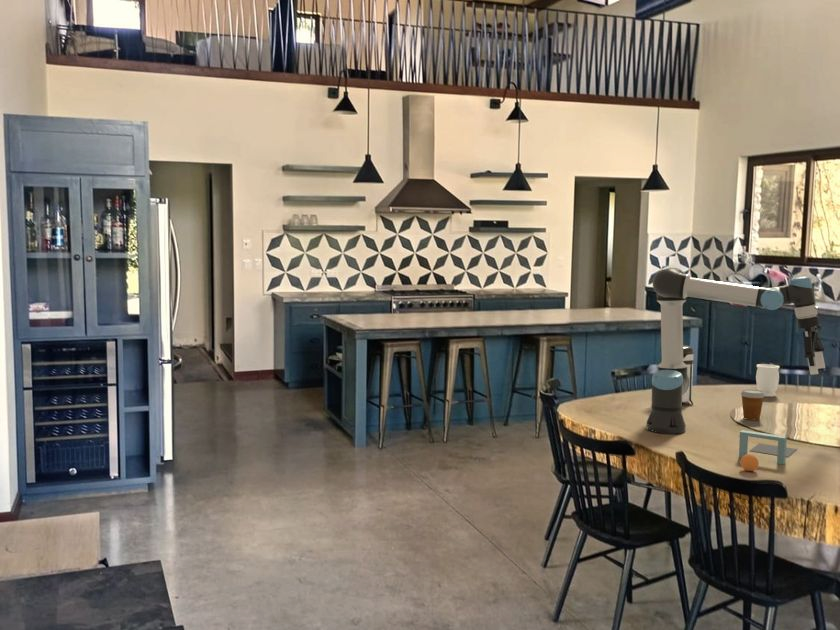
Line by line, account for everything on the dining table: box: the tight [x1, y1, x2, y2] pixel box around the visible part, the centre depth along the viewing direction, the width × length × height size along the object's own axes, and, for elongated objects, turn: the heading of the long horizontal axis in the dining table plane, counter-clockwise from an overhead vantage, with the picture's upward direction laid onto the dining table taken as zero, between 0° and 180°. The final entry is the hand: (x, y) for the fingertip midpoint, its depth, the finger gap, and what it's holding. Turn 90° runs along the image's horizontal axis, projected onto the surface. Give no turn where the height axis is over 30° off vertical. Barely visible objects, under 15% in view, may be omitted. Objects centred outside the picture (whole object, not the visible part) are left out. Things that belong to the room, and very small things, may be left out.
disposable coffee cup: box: [740, 388, 766, 421], centre depth 327 cm, size 10×10×12 cm
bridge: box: [738, 430, 788, 466], centre depth 265 cm, size 14×3×9 cm, turn 52°
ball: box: [740, 453, 760, 472], centre depth 253 cm, size 6×6×6 cm
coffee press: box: [682, 344, 695, 406], centre depth 359 cm, size 17×16×30 cm
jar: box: [755, 363, 781, 398], centre depth 378 cm, size 11×10×15 cm
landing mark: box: [749, 442, 798, 458], centre depth 278 cm, size 13×13×1 cm
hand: (818, 371), depth 293 cm, fingers open, 13 cm apart
